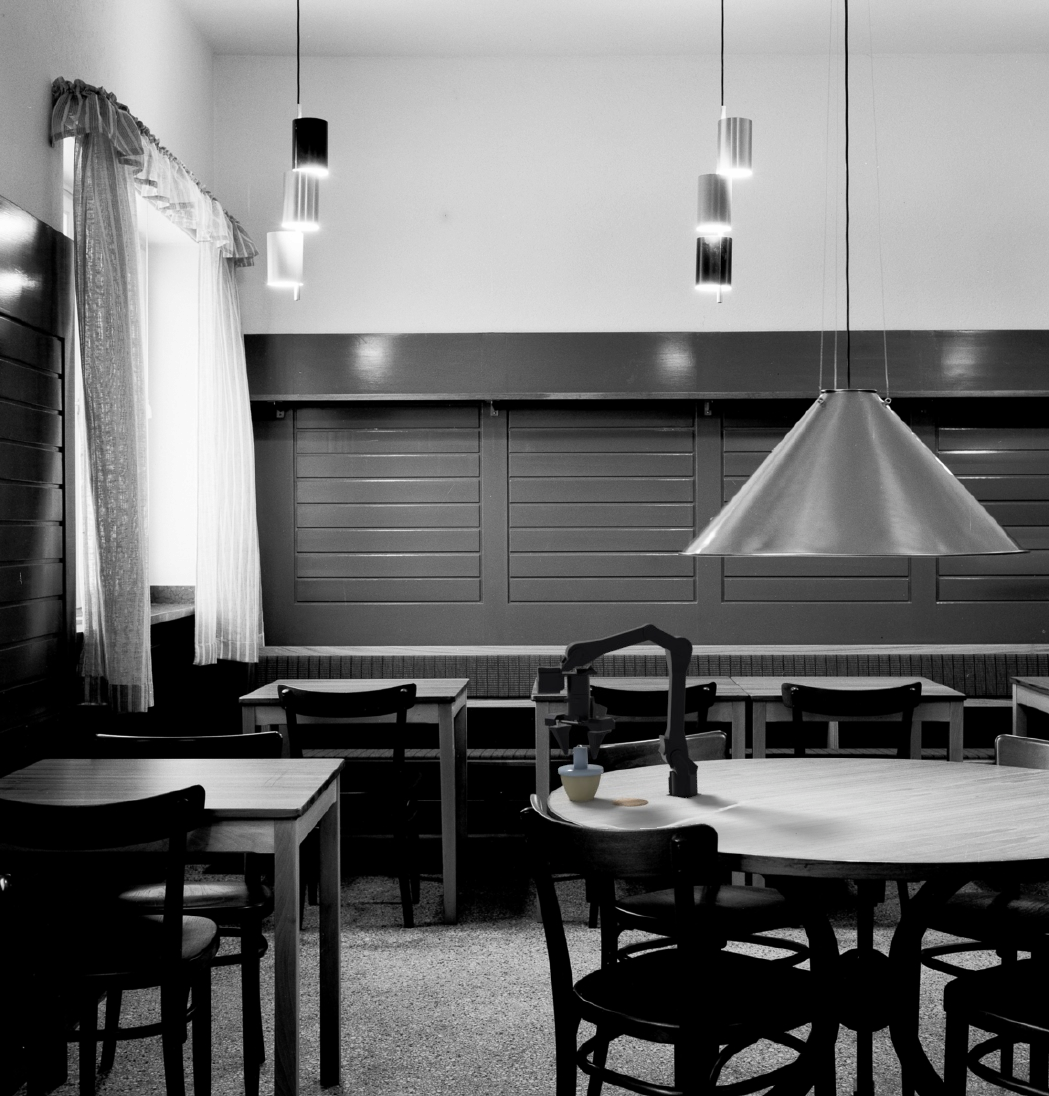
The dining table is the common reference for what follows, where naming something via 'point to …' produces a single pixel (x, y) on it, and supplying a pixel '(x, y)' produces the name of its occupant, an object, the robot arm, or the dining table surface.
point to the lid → (580, 765)
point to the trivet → (629, 802)
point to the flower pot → (581, 787)
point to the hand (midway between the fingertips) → (580, 756)
